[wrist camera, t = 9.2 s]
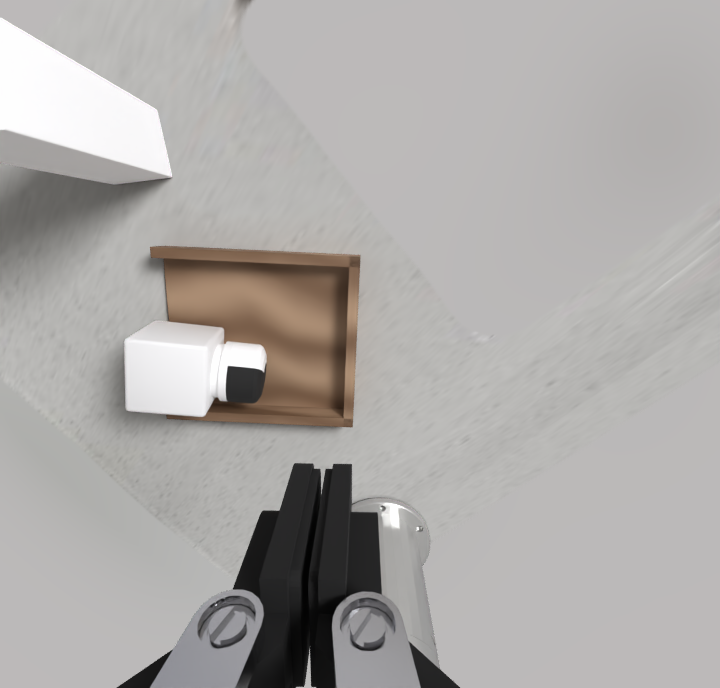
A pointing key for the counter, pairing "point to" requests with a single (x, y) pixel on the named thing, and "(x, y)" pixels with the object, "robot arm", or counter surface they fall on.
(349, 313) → the walnut tray
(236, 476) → the counter surface
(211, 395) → the medicine bottle
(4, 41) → the milk
